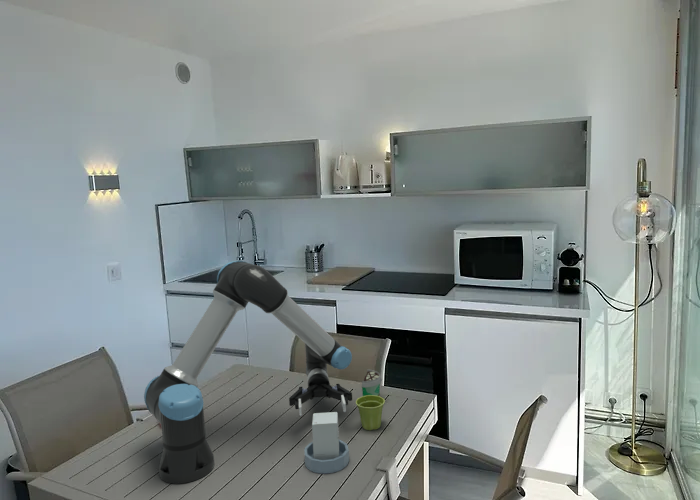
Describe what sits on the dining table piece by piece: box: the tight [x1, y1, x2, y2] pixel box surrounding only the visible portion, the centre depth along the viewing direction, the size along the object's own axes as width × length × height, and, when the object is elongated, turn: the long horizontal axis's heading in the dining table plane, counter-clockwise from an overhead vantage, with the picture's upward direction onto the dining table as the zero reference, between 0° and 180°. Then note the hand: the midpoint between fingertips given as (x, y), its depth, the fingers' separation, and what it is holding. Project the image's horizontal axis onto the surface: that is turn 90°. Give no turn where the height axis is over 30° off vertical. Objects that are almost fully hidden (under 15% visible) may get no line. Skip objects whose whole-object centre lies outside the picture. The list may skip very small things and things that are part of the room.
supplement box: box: [311, 411, 340, 460], centre depth 147 cm, size 7×7×13 cm
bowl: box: [303, 439, 350, 475], centre depth 148 cm, size 13×13×4 cm
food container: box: [361, 368, 383, 396], centre depth 185 cm, size 12×6×10 cm, turn 168°
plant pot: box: [355, 395, 386, 431], centre depth 167 cm, size 9×9×9 cm
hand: (322, 409), depth 157 cm, fingers open, 13 cm apart
